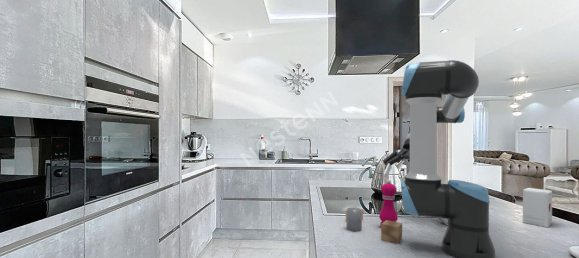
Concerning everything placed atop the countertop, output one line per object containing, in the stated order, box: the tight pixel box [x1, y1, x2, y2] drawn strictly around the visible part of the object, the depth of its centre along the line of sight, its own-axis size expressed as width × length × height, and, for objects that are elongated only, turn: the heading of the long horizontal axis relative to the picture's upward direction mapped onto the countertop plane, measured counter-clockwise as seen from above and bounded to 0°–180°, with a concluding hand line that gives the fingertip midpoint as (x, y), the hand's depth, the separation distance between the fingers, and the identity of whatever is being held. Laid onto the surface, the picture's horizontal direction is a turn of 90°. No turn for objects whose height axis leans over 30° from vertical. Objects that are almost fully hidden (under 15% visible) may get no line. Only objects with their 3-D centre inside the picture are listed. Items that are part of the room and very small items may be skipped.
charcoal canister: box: [346, 207, 363, 233], centre depth 119 cm, size 6×6×8 cm
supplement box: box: [522, 187, 553, 228], centre depth 130 cm, size 9×9×15 cm
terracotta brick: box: [345, 207, 364, 223], centre depth 130 cm, size 4×8×5 cm, turn 136°
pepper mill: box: [378, 179, 398, 228], centre depth 121 cm, size 7×7×20 cm
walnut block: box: [380, 220, 403, 245], centre depth 108 cm, size 6×6×6 cm
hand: (399, 177), depth 129 cm, fingers open, 13 cm apart
